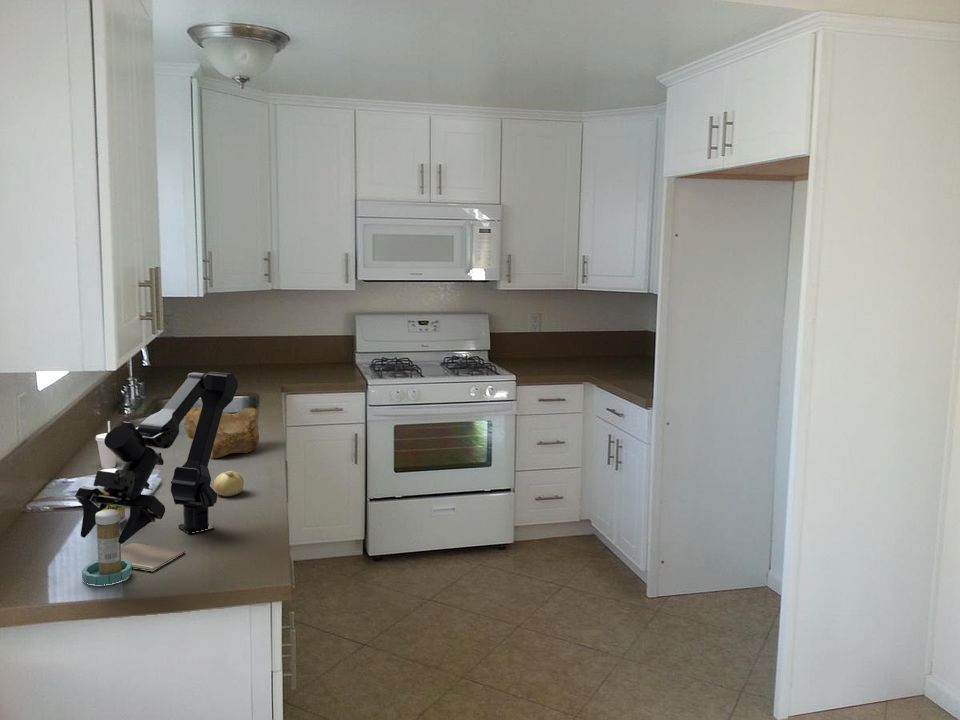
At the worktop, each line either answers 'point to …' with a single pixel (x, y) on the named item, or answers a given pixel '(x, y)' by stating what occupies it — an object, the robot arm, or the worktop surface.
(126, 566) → the bowl
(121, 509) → the supplement bottle
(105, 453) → the smoothie
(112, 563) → the sprinkles bottle
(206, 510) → the robot arm
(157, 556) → the board
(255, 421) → the rough brown rock
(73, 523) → the worktop surface
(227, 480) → the onion
